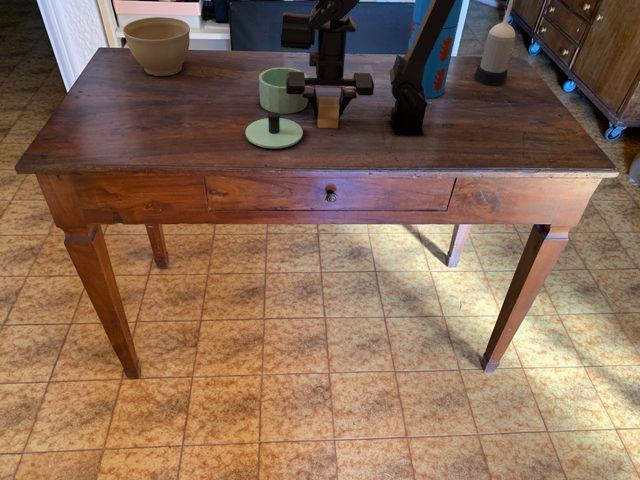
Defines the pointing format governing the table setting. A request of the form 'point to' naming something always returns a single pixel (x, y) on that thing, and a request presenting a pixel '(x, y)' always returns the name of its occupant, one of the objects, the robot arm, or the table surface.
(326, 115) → the block
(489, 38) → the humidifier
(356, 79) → the robot arm
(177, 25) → the planter bowl
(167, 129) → the table surface
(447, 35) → the thermos
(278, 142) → the lid
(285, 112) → the tin
